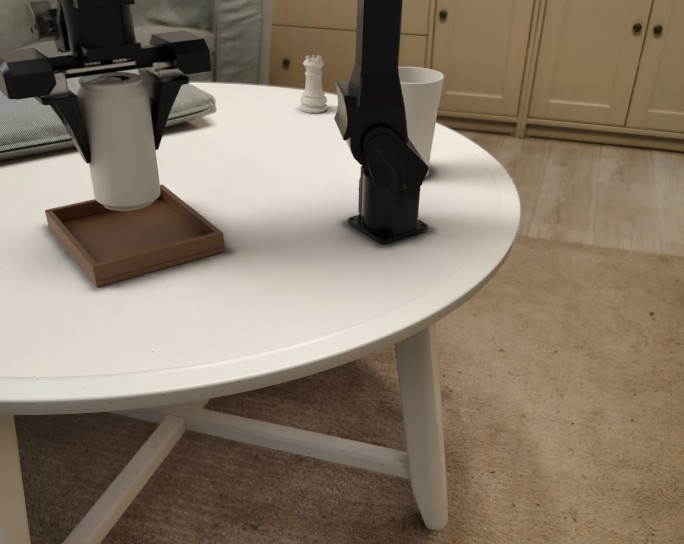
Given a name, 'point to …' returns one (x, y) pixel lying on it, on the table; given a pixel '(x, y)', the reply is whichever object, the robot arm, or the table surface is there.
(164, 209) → the tray
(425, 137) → the cup
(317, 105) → the rook chess piece
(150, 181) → the beverage can
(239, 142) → the table surface
